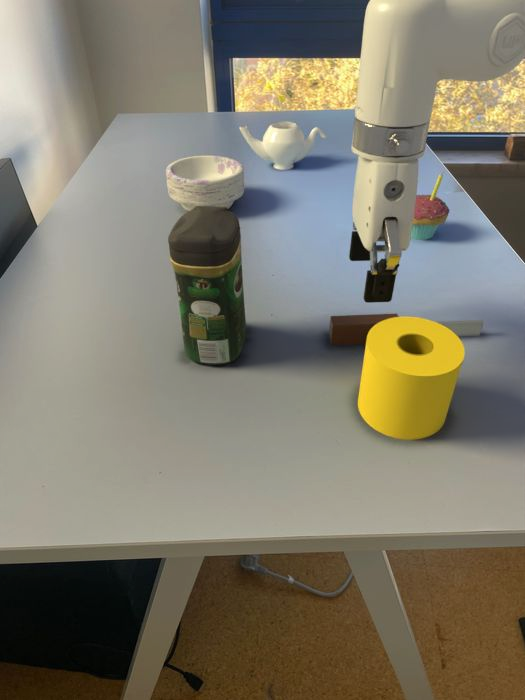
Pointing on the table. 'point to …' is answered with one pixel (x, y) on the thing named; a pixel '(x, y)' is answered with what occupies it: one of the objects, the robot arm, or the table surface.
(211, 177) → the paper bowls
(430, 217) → the cupcake
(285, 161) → the teapot
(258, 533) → the table surface
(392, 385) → the tape roll
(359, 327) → the knife
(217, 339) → the coffee jar
